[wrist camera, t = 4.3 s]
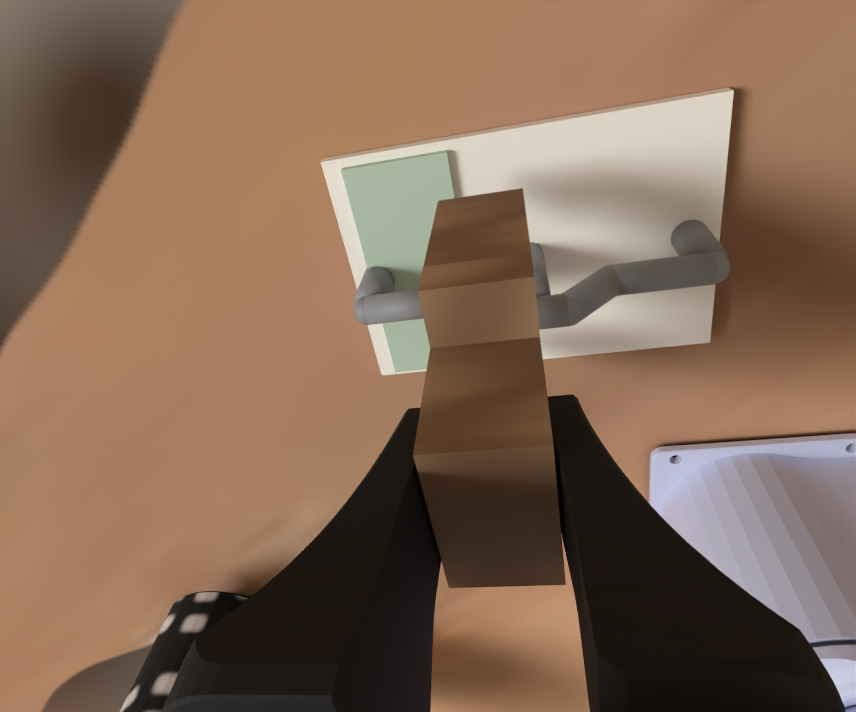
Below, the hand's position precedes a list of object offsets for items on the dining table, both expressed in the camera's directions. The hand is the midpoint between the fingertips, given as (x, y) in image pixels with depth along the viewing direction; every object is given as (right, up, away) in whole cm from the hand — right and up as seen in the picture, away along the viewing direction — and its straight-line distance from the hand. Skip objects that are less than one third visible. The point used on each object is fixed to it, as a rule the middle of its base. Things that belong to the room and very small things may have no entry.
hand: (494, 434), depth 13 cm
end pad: (-2, +5, +9) cm, 10 cm away
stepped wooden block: (+1, +4, +6) cm, 7 cm away
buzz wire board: (+2, +6, +8) cm, 10 cm away
